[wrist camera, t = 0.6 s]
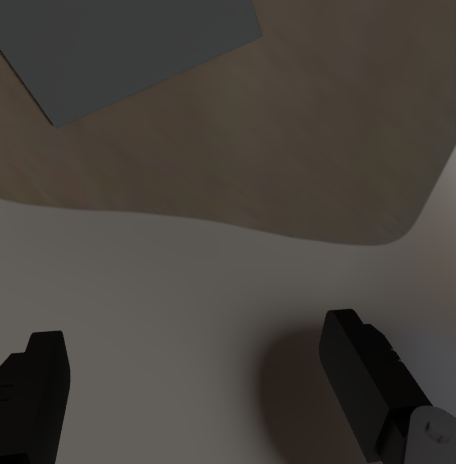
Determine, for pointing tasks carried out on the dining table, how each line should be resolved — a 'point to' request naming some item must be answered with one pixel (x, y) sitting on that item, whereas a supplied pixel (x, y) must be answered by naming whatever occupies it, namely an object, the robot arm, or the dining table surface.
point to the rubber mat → (114, 46)
